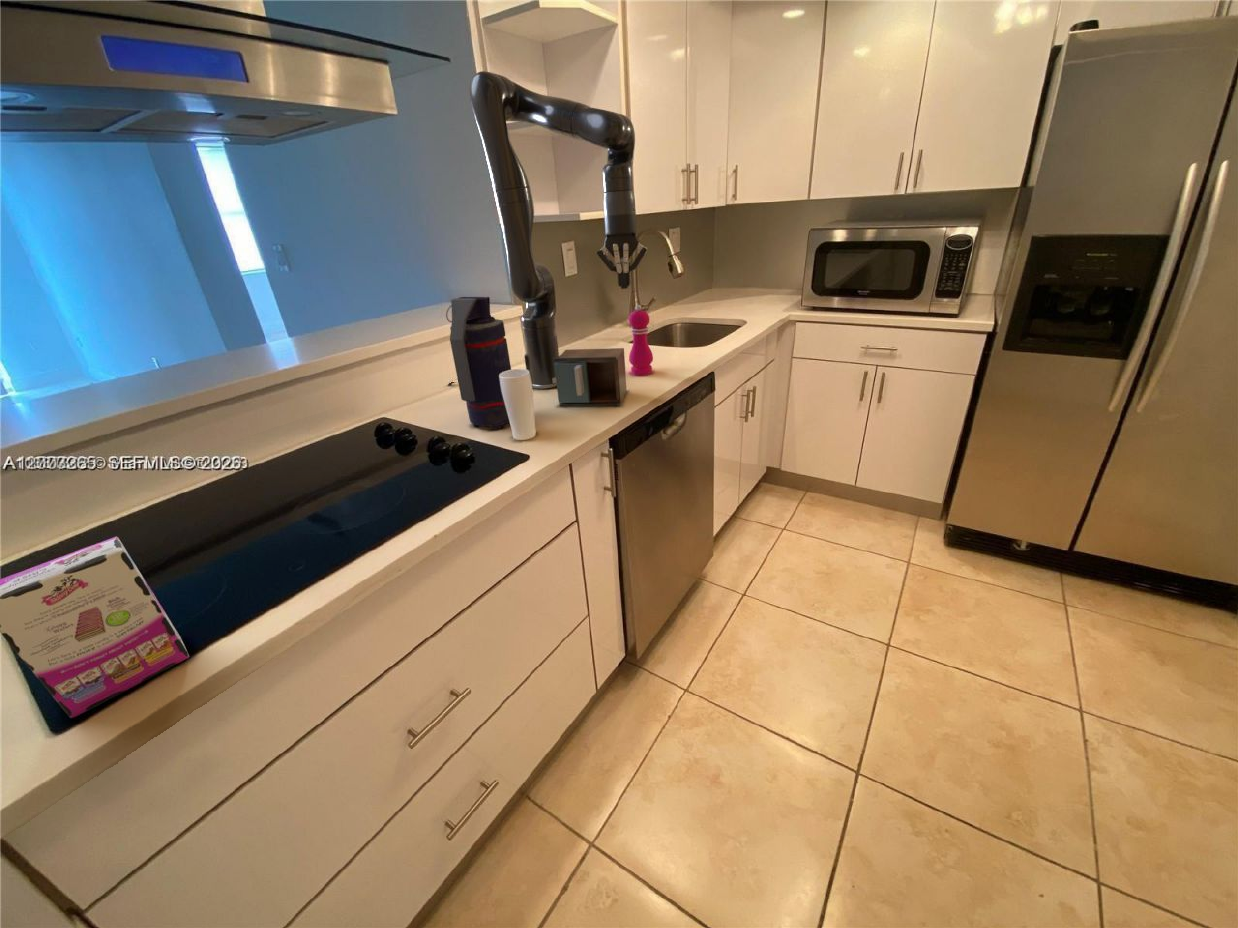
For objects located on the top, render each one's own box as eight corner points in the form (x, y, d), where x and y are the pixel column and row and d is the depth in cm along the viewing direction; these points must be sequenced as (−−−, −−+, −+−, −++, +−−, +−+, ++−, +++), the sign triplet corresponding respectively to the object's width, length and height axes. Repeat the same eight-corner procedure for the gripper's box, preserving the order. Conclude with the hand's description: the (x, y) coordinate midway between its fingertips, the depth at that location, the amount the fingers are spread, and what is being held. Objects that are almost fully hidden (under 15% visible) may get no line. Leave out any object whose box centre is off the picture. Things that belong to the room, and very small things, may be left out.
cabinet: (559, 406, 136) (553, 358, 130) (570, 391, 146) (565, 346, 141) (619, 406, 133) (616, 357, 128) (626, 391, 143) (623, 345, 138)
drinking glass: (513, 431, 123) (502, 369, 116) (541, 429, 123) (532, 367, 116) (506, 443, 117) (495, 378, 110) (536, 441, 116) (526, 376, 110)
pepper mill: (654, 368, 161) (651, 302, 152) (653, 375, 154) (650, 306, 145) (630, 369, 162) (626, 303, 153) (628, 376, 155) (624, 308, 146)
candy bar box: (182, 639, 67) (119, 533, 60) (191, 658, 64) (126, 548, 57) (65, 697, 60) (-24, 584, 53) (69, 721, 57) (-25, 605, 49)
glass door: (555, 406, 133) (550, 367, 128) (559, 402, 136) (554, 363, 132) (586, 406, 132) (582, 366, 127) (589, 401, 135) (585, 362, 130)
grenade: (491, 411, 137) (468, 292, 123) (528, 415, 132) (509, 292, 118) (455, 431, 126) (426, 303, 112) (494, 436, 121) (468, 303, 107)
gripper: (649, 210, 127) (652, 285, 134) (596, 214, 129) (601, 287, 137) (645, 211, 120) (648, 289, 128) (589, 215, 122) (596, 292, 130)
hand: (624, 288), depth 132 cm, fingers closed
